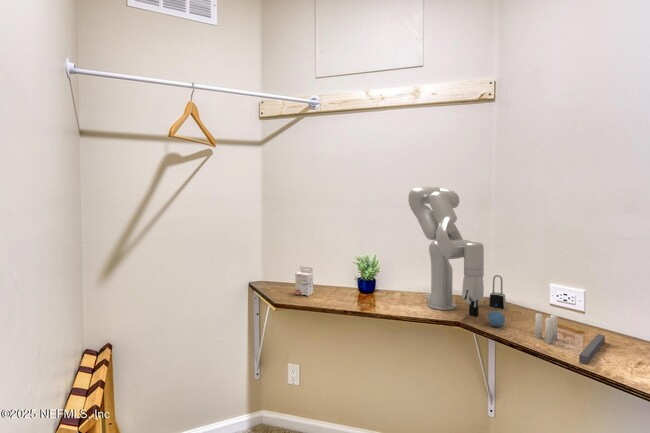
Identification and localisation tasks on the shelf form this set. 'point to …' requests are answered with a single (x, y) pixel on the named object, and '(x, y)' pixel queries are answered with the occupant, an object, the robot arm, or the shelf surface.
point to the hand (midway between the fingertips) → (473, 315)
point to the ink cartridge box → (304, 281)
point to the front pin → (538, 325)
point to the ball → (496, 318)
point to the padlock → (497, 297)
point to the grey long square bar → (591, 349)
